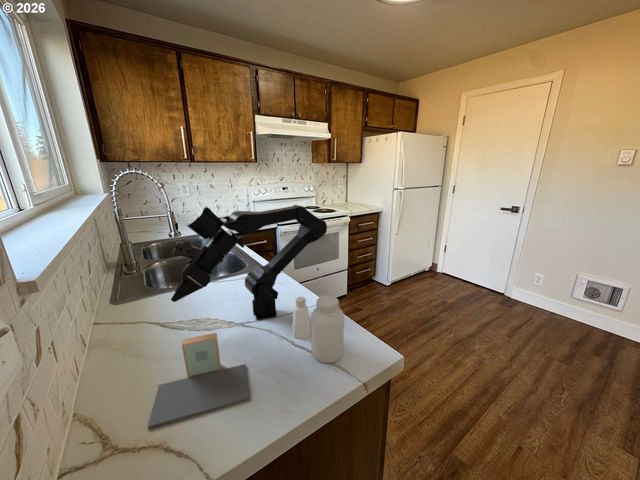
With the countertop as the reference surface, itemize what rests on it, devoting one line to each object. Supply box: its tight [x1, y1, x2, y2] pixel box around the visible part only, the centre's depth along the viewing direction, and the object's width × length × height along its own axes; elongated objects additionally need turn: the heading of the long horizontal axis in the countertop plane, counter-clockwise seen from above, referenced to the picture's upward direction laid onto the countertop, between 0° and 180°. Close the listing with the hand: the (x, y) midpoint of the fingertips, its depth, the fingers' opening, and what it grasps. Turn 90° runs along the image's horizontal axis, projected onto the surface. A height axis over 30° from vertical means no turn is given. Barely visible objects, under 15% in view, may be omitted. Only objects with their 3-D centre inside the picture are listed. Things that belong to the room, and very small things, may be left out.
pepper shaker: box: [291, 296, 312, 340], centre depth 74 cm, size 5×5×11 cm
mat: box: [147, 363, 250, 430], centre depth 56 cm, size 18×10×1 cm, turn 110°
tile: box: [181, 332, 222, 378], centre depth 61 cm, size 7×2×9 cm, turn 110°
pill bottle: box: [310, 295, 345, 364], centre depth 65 cm, size 8×8×15 cm
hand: (174, 296), depth 68 cm, fingers open, 9 cm apart
